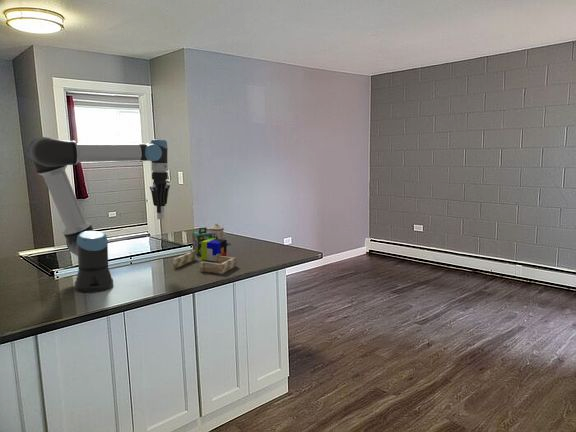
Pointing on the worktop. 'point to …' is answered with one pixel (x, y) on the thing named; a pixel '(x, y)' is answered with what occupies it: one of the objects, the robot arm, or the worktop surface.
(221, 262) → the beige low frame piece
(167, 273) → the worktop surface
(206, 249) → the puzzle toy
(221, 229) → the teacup with lid
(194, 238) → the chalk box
